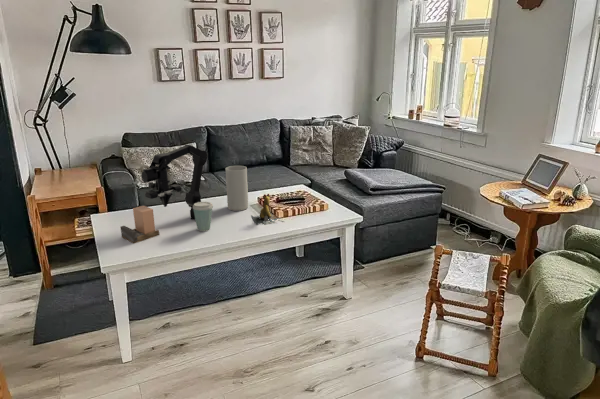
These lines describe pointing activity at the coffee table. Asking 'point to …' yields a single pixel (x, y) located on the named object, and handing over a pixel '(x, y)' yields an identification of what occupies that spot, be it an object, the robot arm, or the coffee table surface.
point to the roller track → (140, 238)
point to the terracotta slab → (144, 219)
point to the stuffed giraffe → (264, 213)
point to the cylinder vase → (237, 188)
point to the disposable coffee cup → (203, 215)
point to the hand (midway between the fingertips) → (165, 206)
